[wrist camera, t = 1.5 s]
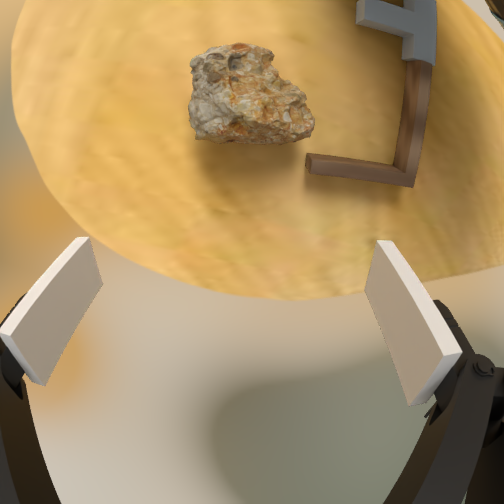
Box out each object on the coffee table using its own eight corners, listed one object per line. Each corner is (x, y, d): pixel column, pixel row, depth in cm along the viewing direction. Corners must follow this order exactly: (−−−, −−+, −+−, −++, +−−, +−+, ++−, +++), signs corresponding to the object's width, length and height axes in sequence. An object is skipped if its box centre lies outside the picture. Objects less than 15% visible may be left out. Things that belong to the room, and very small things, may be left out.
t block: (356, -18, 21) (364, -25, 18) (424, 5, 21) (436, 0, 18) (354, 46, 25) (363, 43, 23) (422, 66, 25) (435, 66, 23)
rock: (195, 134, 31) (171, 152, 23) (206, 47, 26) (184, 30, 17) (300, 148, 32) (317, 172, 23) (316, 62, 27) (340, 52, 18)
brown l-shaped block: (317, 39, 25) (323, 34, 22) (417, 64, 25) (432, 63, 22) (305, 165, 33) (310, 173, 30) (400, 178, 33) (413, 188, 30)
